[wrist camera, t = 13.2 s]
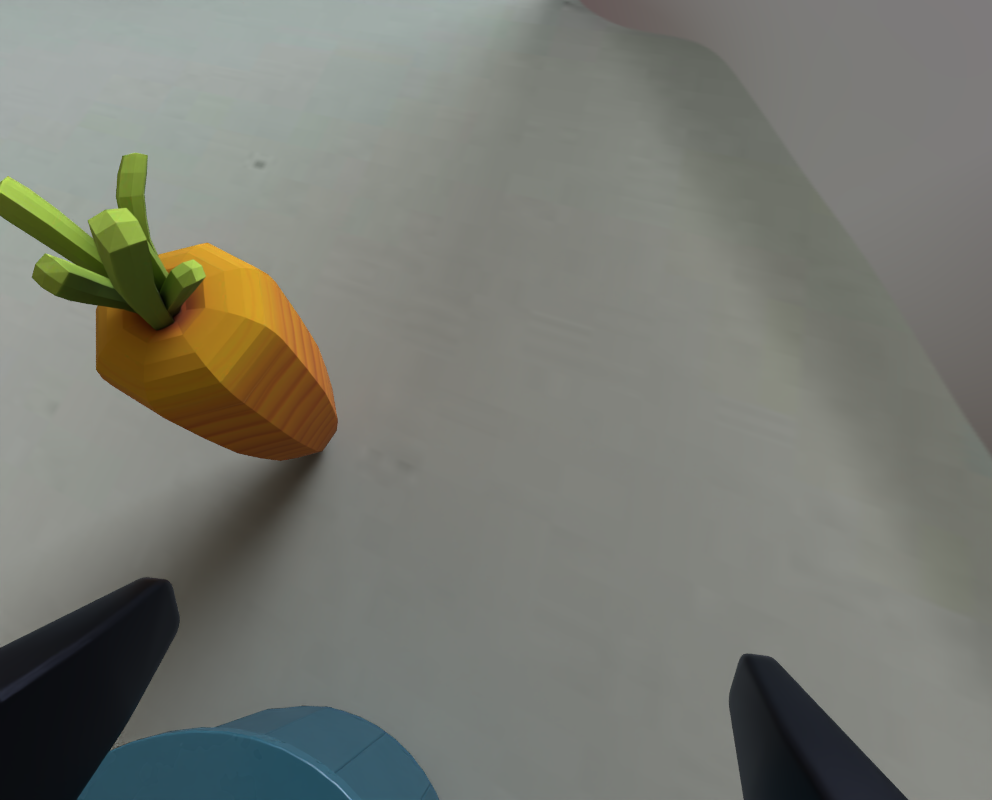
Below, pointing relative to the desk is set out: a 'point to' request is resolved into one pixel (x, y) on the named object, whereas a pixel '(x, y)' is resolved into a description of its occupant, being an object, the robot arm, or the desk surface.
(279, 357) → the carrot
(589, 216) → the desk surface
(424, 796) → the pot
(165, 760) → the pot lid
